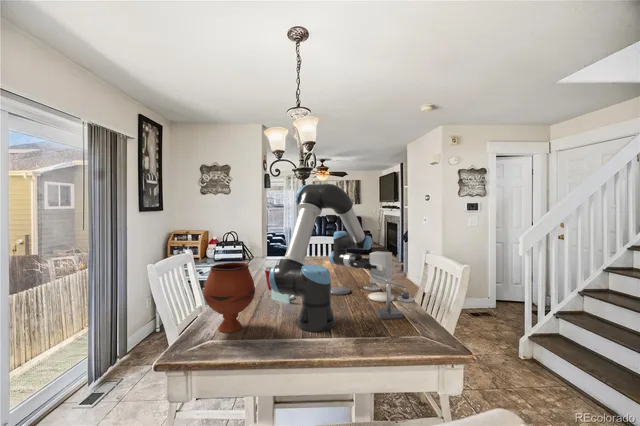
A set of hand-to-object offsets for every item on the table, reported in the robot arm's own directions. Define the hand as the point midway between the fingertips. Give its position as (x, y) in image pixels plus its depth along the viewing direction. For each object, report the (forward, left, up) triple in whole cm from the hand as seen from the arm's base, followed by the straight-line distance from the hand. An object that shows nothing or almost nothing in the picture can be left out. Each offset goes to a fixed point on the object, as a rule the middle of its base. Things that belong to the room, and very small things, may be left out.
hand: (388, 266), depth 154 cm
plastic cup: (-59, +28, -17) cm, 68 cm away
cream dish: (-3, +3, -17) cm, 18 cm away
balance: (-7, -21, -17) cm, 28 cm away
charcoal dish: (-23, +17, -17) cm, 33 cm away
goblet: (-73, -27, -17) cm, 80 cm away
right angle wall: (-50, +9, -18) cm, 54 cm away
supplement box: (-3, +3, -9) cm, 10 cm away
